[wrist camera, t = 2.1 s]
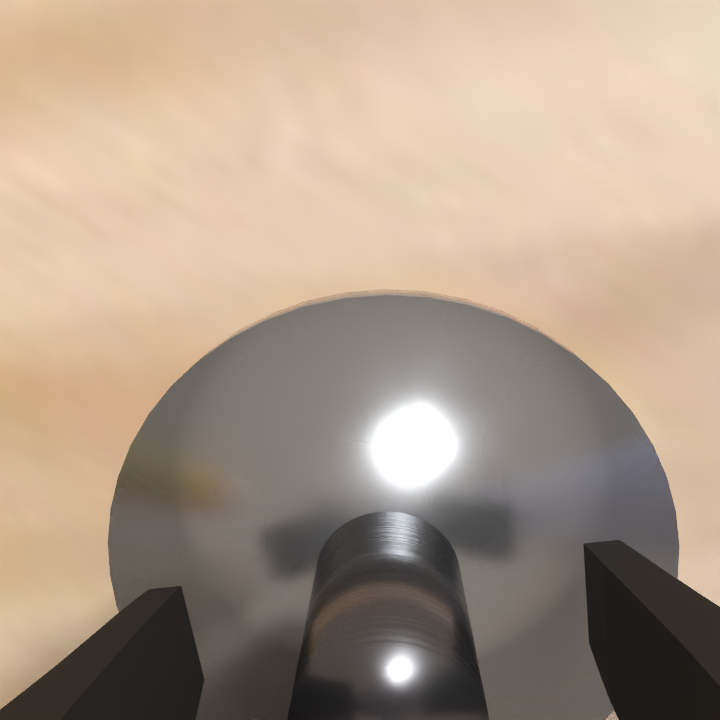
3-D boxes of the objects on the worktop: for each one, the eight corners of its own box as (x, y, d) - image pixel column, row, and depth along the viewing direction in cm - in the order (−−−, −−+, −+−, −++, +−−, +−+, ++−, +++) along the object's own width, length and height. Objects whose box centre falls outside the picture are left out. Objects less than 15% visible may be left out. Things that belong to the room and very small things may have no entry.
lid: (646, 246, 11) (819, 279, 7) (663, 737, 14) (795, 993, 9) (69, 330, 12) (-117, 407, 8) (191, 777, 15) (106, 1027, 10)
